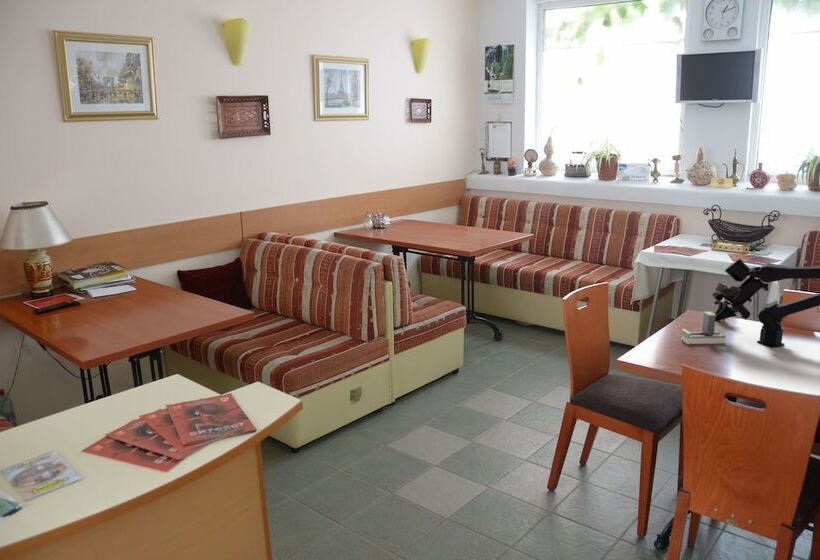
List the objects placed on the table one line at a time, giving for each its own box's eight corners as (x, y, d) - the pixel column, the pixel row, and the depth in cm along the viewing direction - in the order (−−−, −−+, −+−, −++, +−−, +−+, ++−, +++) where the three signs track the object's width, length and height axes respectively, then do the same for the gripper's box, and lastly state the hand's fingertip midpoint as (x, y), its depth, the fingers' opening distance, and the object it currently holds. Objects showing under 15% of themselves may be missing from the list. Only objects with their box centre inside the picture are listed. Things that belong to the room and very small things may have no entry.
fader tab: (709, 333, 254) (711, 311, 252) (714, 336, 250) (716, 314, 248) (701, 333, 254) (703, 311, 252) (706, 336, 250) (708, 314, 248)
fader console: (718, 338, 255) (719, 328, 254) (724, 343, 250) (725, 332, 250) (680, 339, 255) (681, 329, 254) (686, 343, 250) (687, 333, 249)
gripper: (719, 270, 256) (687, 299, 259) (745, 282, 238) (710, 313, 241) (738, 290, 259) (706, 319, 261) (765, 303, 241) (730, 334, 243)
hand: (712, 320), depth 251 cm, fingers closed
